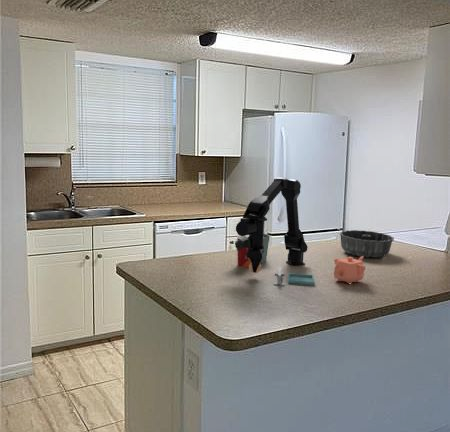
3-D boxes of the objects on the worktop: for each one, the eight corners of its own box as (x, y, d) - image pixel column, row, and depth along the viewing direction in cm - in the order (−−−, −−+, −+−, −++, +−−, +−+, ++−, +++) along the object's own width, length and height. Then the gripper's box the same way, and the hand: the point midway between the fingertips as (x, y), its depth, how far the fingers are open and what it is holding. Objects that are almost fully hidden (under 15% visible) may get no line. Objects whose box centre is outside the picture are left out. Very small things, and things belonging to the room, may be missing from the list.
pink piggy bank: (364, 288, 186) (366, 262, 184) (333, 285, 188) (335, 260, 186) (361, 278, 199) (363, 254, 198) (332, 275, 202) (334, 252, 200)
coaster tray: (288, 276, 198) (288, 273, 197) (313, 278, 196) (313, 274, 196) (288, 283, 188) (288, 280, 187) (314, 285, 186) (314, 282, 186)
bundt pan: (397, 253, 247) (399, 234, 246) (384, 263, 225) (386, 243, 224) (348, 246, 261) (349, 228, 260) (331, 254, 239) (332, 235, 238)
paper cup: (251, 268, 208) (252, 237, 206) (234, 267, 209) (235, 235, 207) (253, 264, 215) (255, 233, 213) (237, 262, 217) (238, 232, 215)
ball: (256, 270, 197) (257, 259, 196) (263, 273, 193) (263, 261, 192) (246, 272, 195) (246, 260, 194) (252, 275, 190) (253, 263, 189)
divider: (275, 273, 201) (275, 264, 200) (284, 274, 200) (285, 265, 200) (273, 285, 185) (274, 275, 185) (284, 285, 185) (284, 275, 184)
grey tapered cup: (243, 261, 220) (244, 235, 218) (250, 256, 229) (251, 232, 227) (264, 264, 216) (265, 238, 214) (270, 259, 226) (272, 234, 224)
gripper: (239, 227, 201) (237, 263, 204) (234, 236, 183) (232, 275, 185) (265, 228, 200) (263, 265, 202) (263, 237, 181) (261, 277, 184)
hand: (254, 270), depth 193 cm, fingers closed on ball, 5 cm apart
